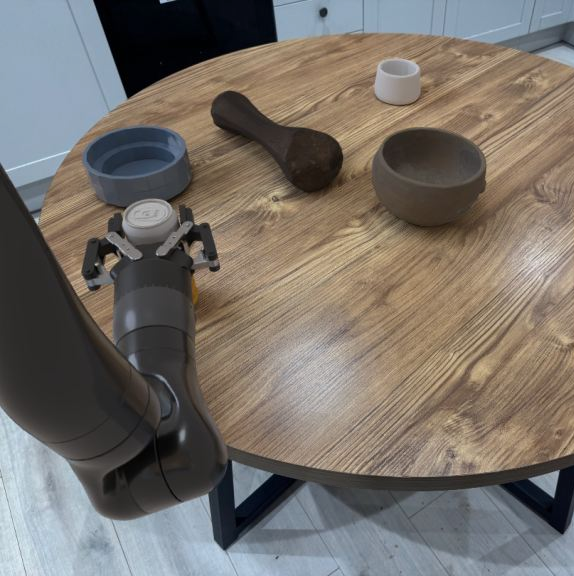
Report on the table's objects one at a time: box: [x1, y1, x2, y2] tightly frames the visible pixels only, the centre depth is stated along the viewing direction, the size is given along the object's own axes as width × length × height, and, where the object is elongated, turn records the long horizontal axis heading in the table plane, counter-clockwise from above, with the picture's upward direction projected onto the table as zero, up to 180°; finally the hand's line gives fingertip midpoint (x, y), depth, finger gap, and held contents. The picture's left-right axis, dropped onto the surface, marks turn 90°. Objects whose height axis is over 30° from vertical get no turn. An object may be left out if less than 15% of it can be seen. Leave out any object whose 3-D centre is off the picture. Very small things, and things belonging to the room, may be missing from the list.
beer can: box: [122, 199, 199, 306], centre depth 70 cm, size 6×6×15 cm
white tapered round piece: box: [373, 58, 422, 106], centre depth 118 cm, size 12×10×6 cm
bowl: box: [370, 126, 488, 227], centre depth 89 cm, size 17×18×10 cm
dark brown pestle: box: [209, 89, 344, 193], centre depth 98 cm, size 11×10×28 cm
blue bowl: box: [81, 124, 193, 208], centre depth 91 cm, size 15×15×6 cm
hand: (151, 214), depth 68 cm, fingers open, 6 cm apart
